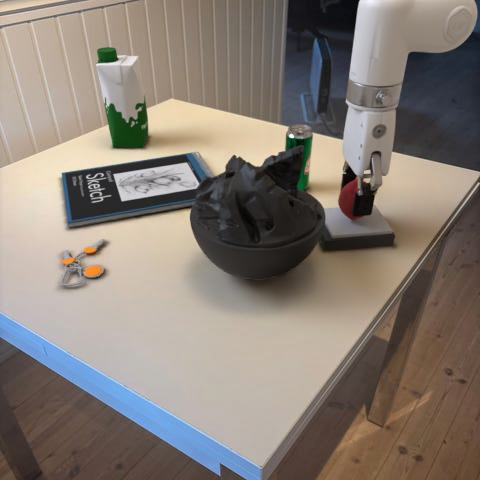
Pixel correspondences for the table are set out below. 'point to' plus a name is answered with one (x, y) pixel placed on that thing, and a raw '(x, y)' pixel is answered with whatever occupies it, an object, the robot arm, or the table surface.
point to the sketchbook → (132, 188)
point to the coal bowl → (257, 217)
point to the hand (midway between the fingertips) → (355, 204)
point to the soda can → (304, 137)
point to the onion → (348, 199)
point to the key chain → (88, 272)
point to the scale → (355, 231)
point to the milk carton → (123, 98)
